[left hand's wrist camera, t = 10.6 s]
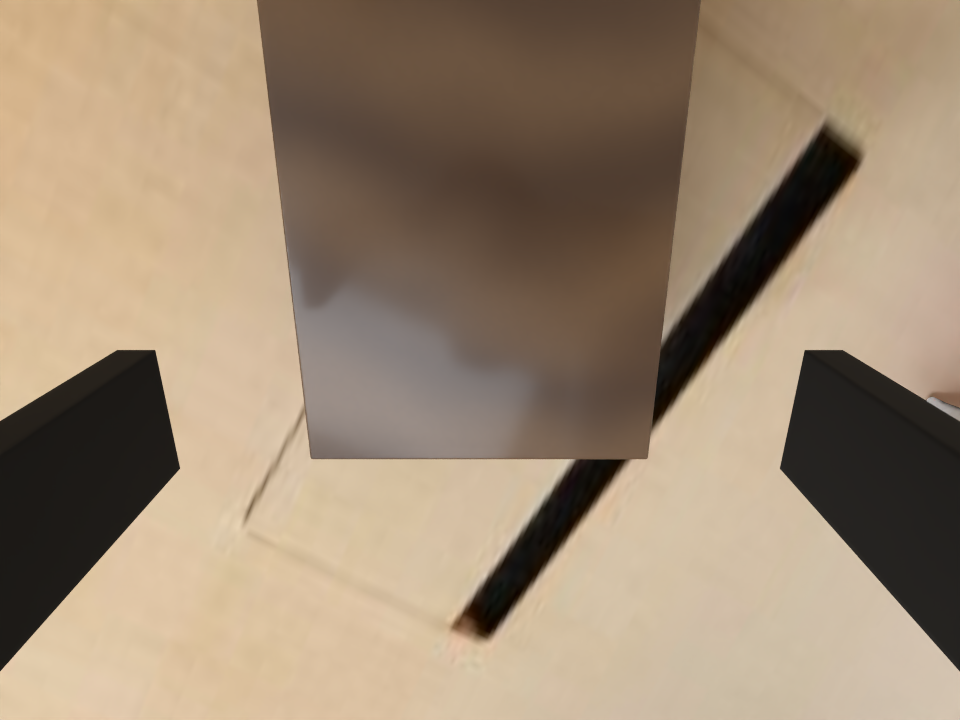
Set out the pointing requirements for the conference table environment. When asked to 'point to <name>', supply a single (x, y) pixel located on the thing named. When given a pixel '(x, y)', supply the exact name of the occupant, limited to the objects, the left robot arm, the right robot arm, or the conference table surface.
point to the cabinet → (479, 219)
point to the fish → (945, 407)
